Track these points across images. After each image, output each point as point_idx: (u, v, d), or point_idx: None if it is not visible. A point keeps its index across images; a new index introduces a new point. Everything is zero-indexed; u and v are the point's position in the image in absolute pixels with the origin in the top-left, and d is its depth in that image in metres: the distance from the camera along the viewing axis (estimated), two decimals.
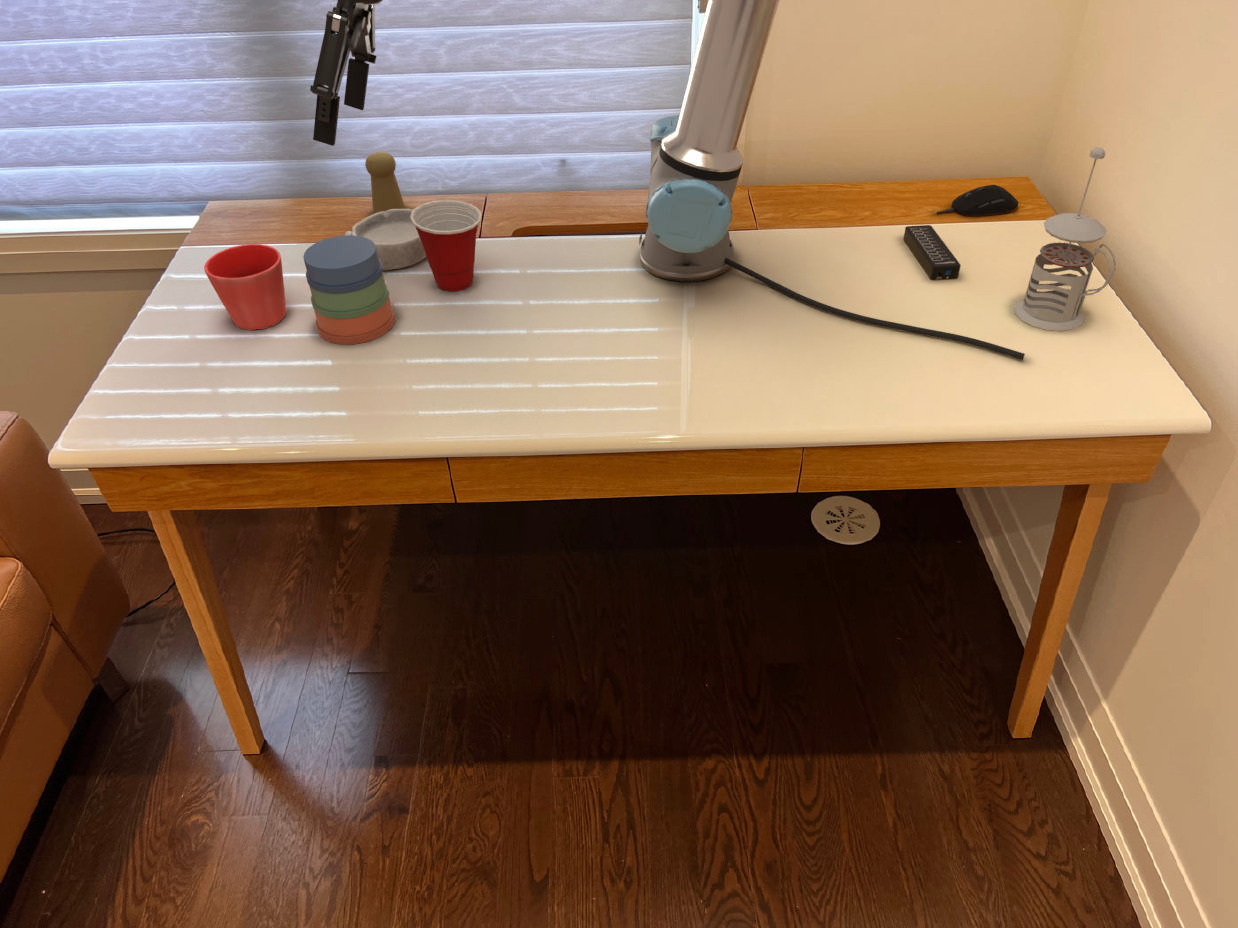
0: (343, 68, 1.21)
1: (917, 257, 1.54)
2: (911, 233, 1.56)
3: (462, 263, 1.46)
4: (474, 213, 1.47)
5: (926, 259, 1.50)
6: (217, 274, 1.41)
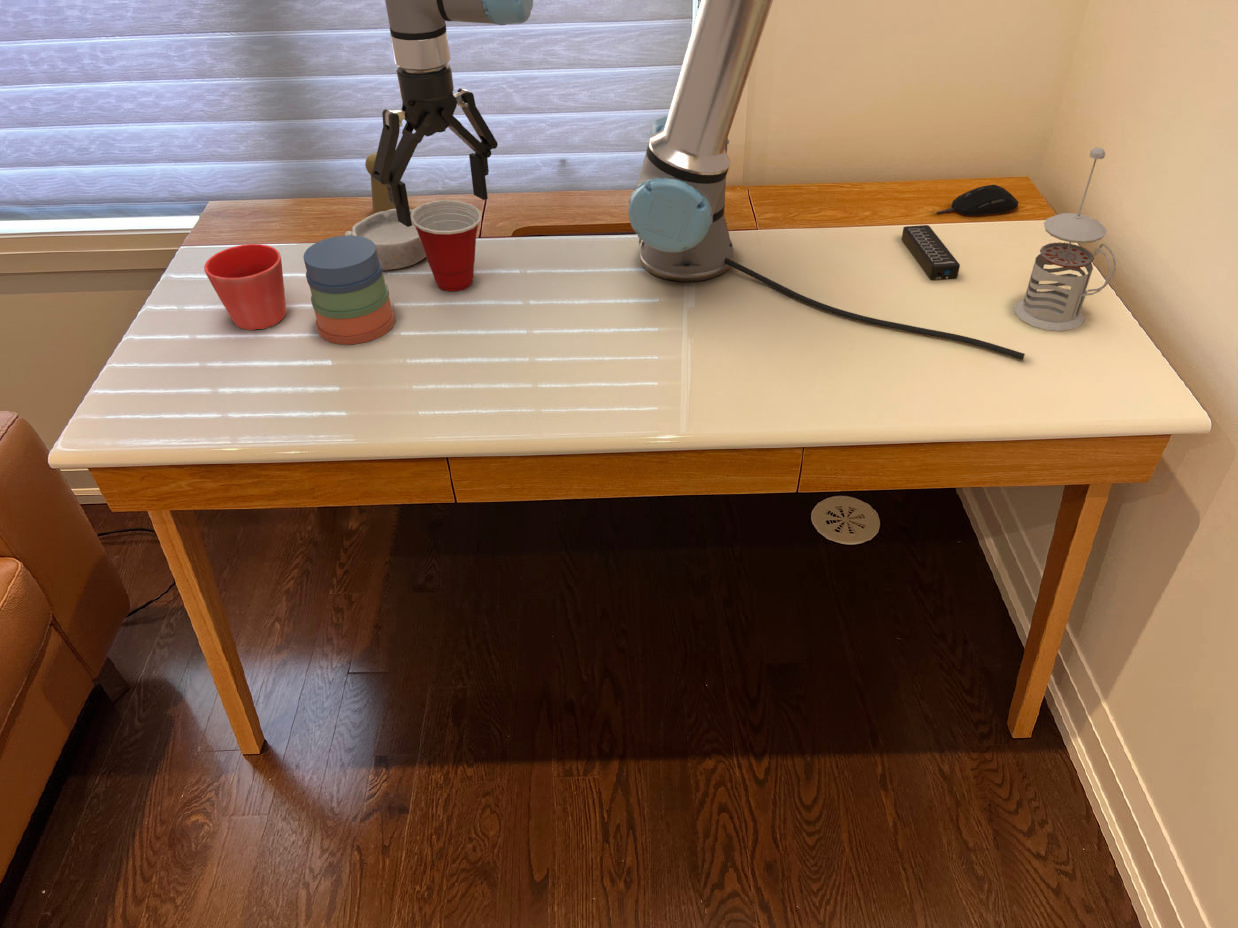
0: (405, 158, 1.34)
1: (916, 257, 1.54)
2: (909, 233, 1.56)
3: (462, 263, 1.46)
4: (474, 213, 1.47)
5: (925, 259, 1.50)
6: (217, 274, 1.41)
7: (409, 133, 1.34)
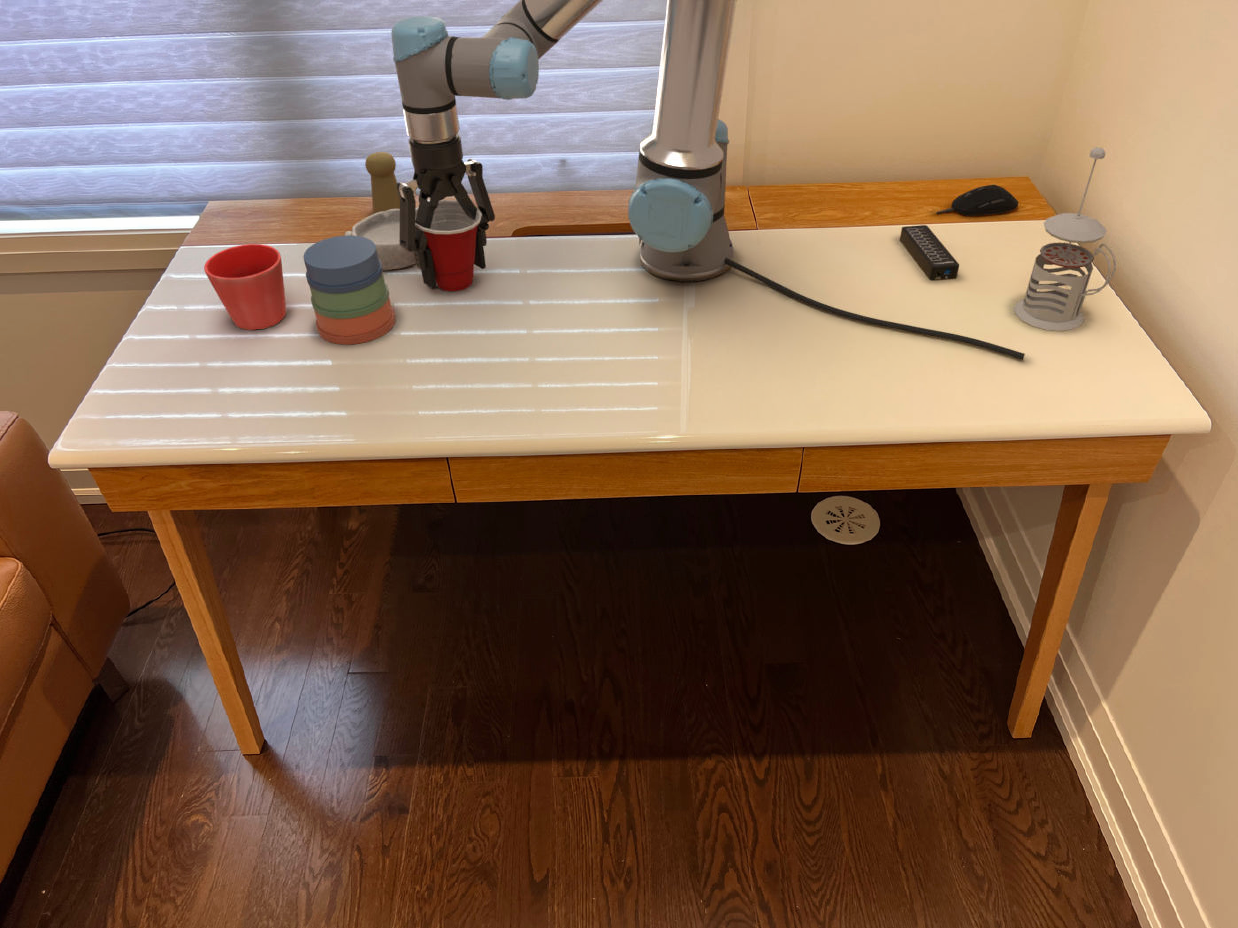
0: (426, 225, 1.42)
1: (915, 257, 1.54)
2: (908, 233, 1.56)
3: (462, 263, 1.47)
4: None
5: (924, 259, 1.50)
6: (217, 274, 1.41)
7: (425, 201, 1.41)
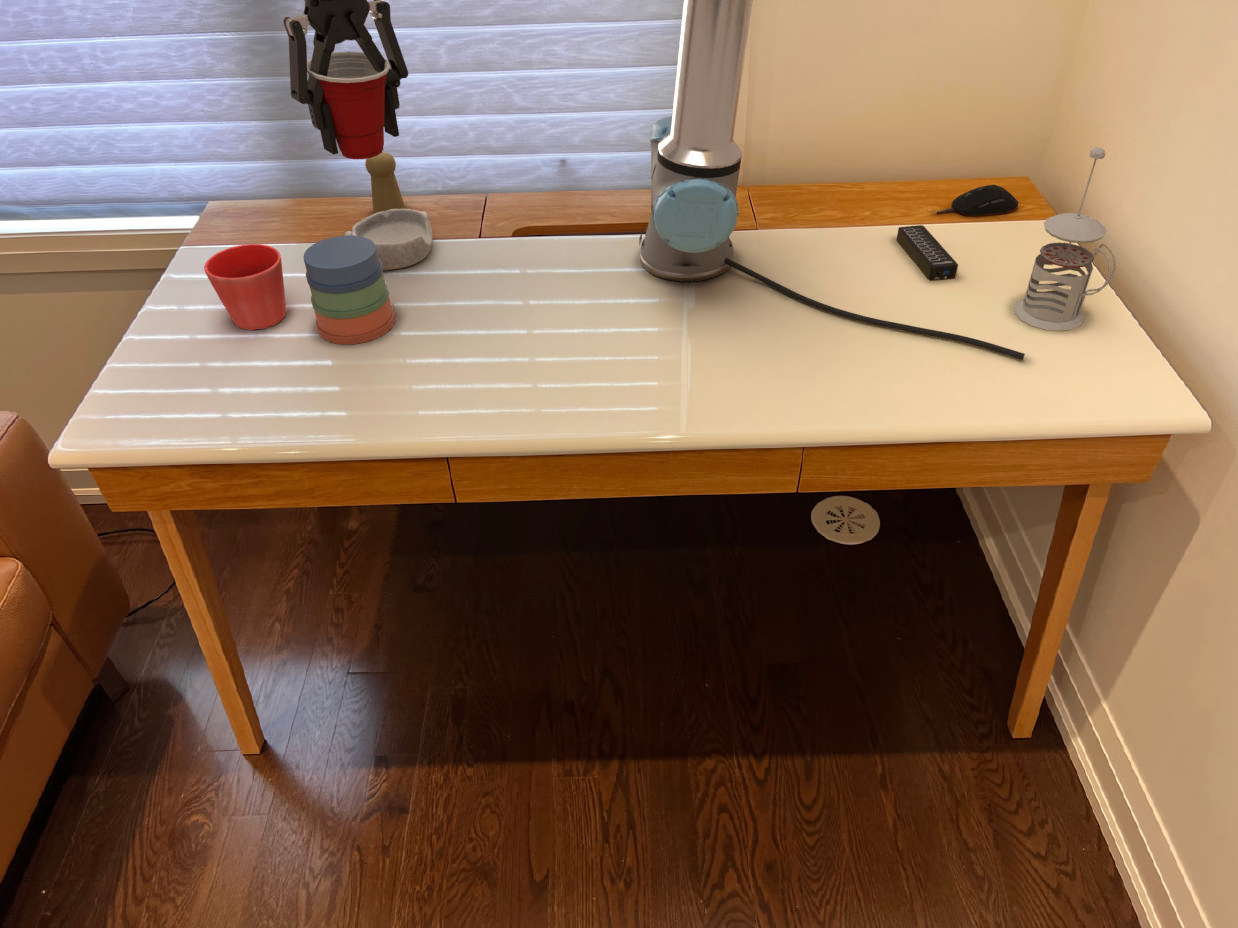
0: (321, 73, 1.21)
1: (913, 258, 1.54)
2: (905, 234, 1.56)
3: (367, 123, 1.26)
4: None
5: (923, 259, 1.50)
6: (217, 274, 1.41)
7: (319, 43, 1.20)
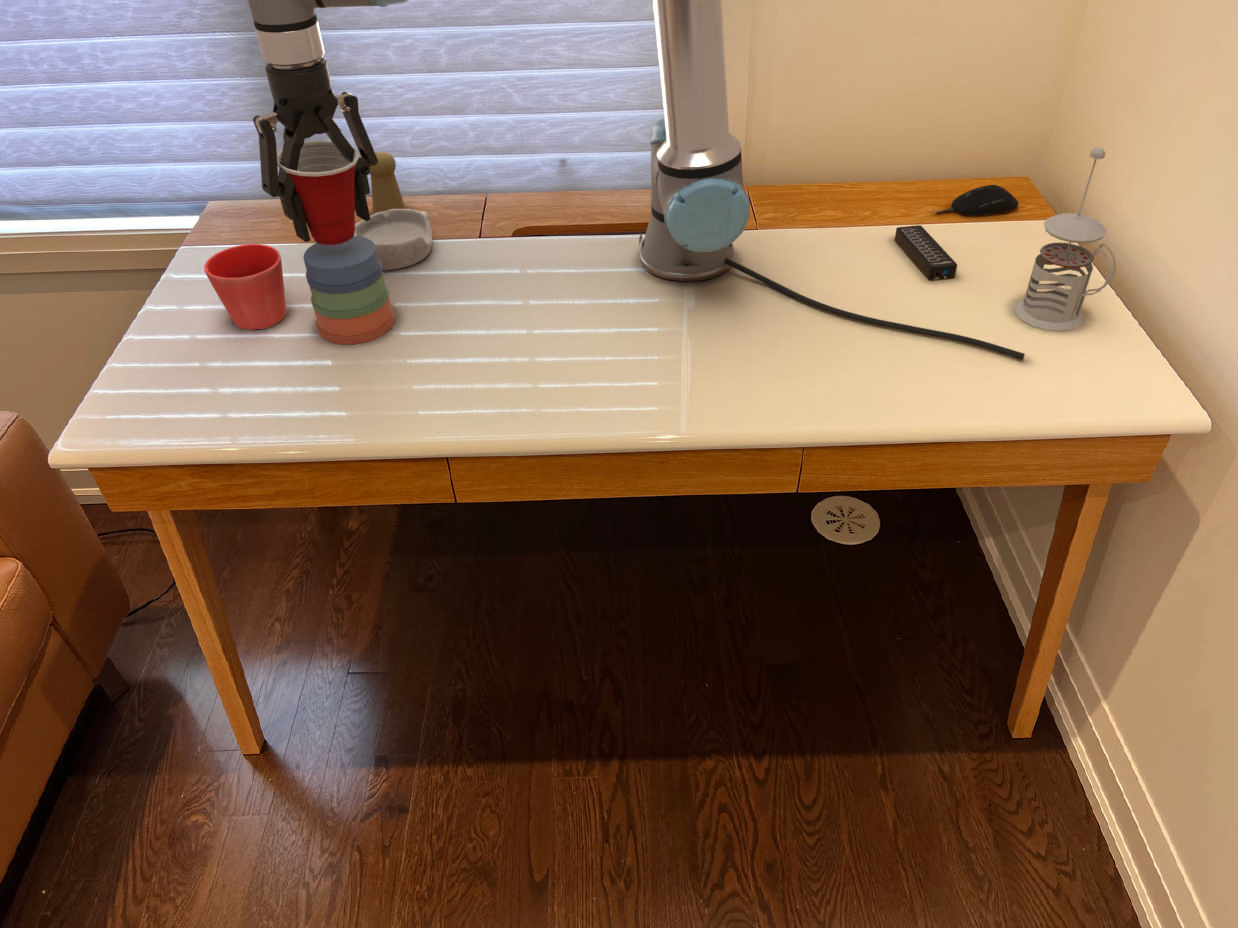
0: (291, 167, 1.24)
1: (911, 258, 1.54)
2: (903, 234, 1.56)
3: (337, 212, 1.28)
4: None
5: (922, 259, 1.50)
6: (217, 274, 1.41)
7: (289, 138, 1.23)
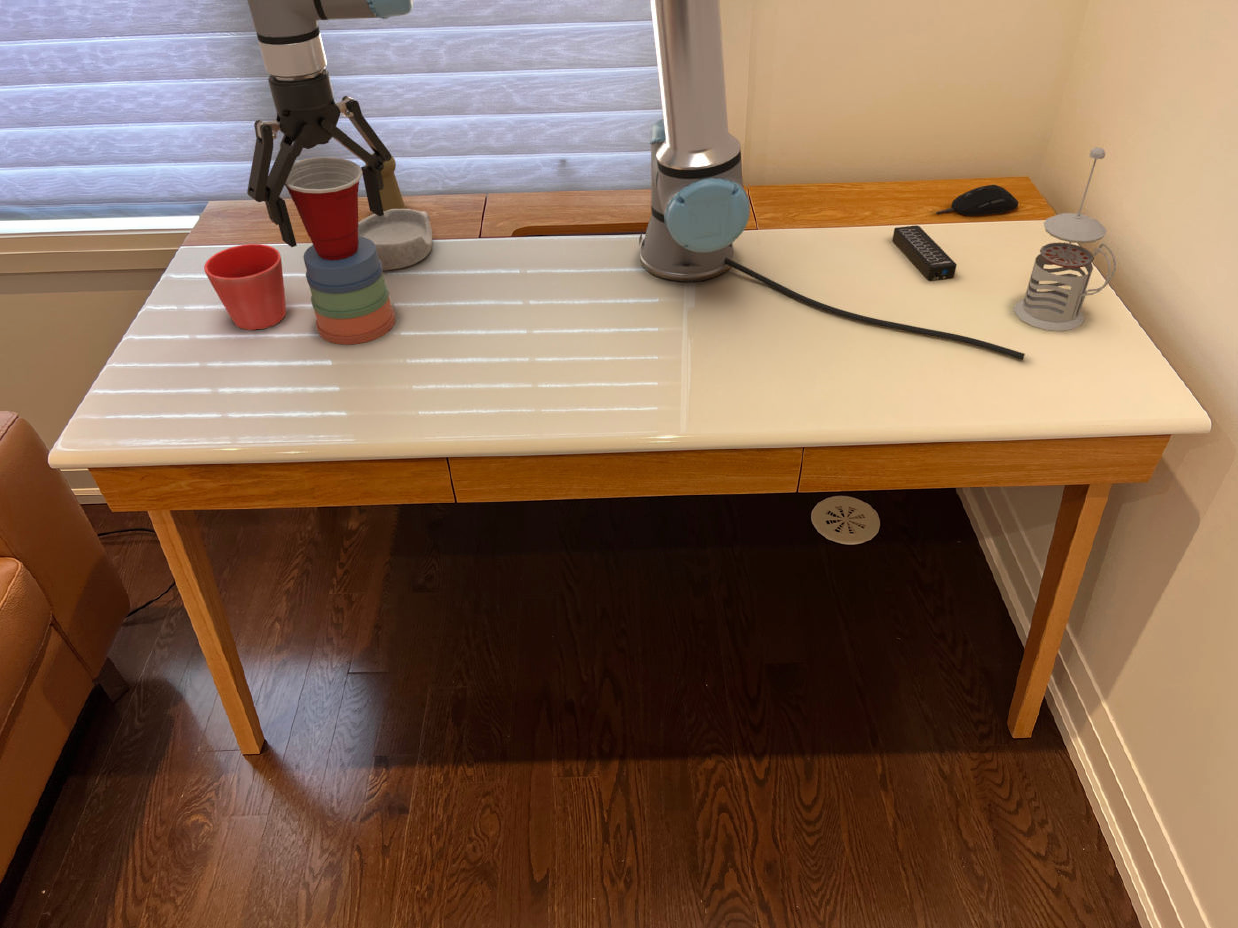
0: (283, 173, 1.23)
1: (910, 258, 1.54)
2: (901, 234, 1.56)
3: (341, 227, 1.30)
4: (355, 171, 1.31)
5: (921, 260, 1.50)
6: (217, 274, 1.41)
7: (287, 146, 1.23)
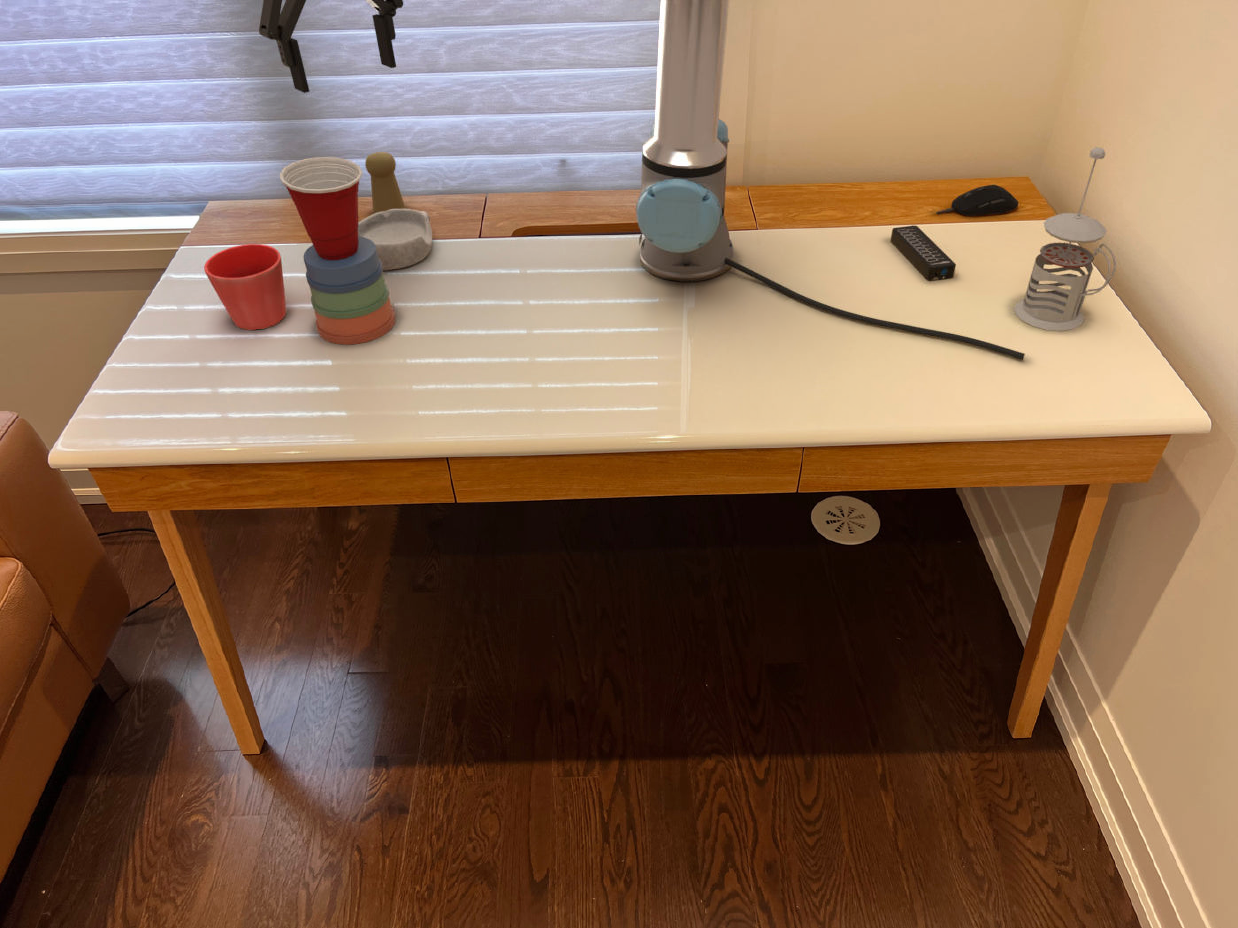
0: (295, 10, 1.21)
1: (909, 258, 1.54)
2: (900, 234, 1.56)
3: (341, 227, 1.30)
4: (355, 171, 1.31)
5: (920, 260, 1.50)
6: (217, 274, 1.41)
7: None
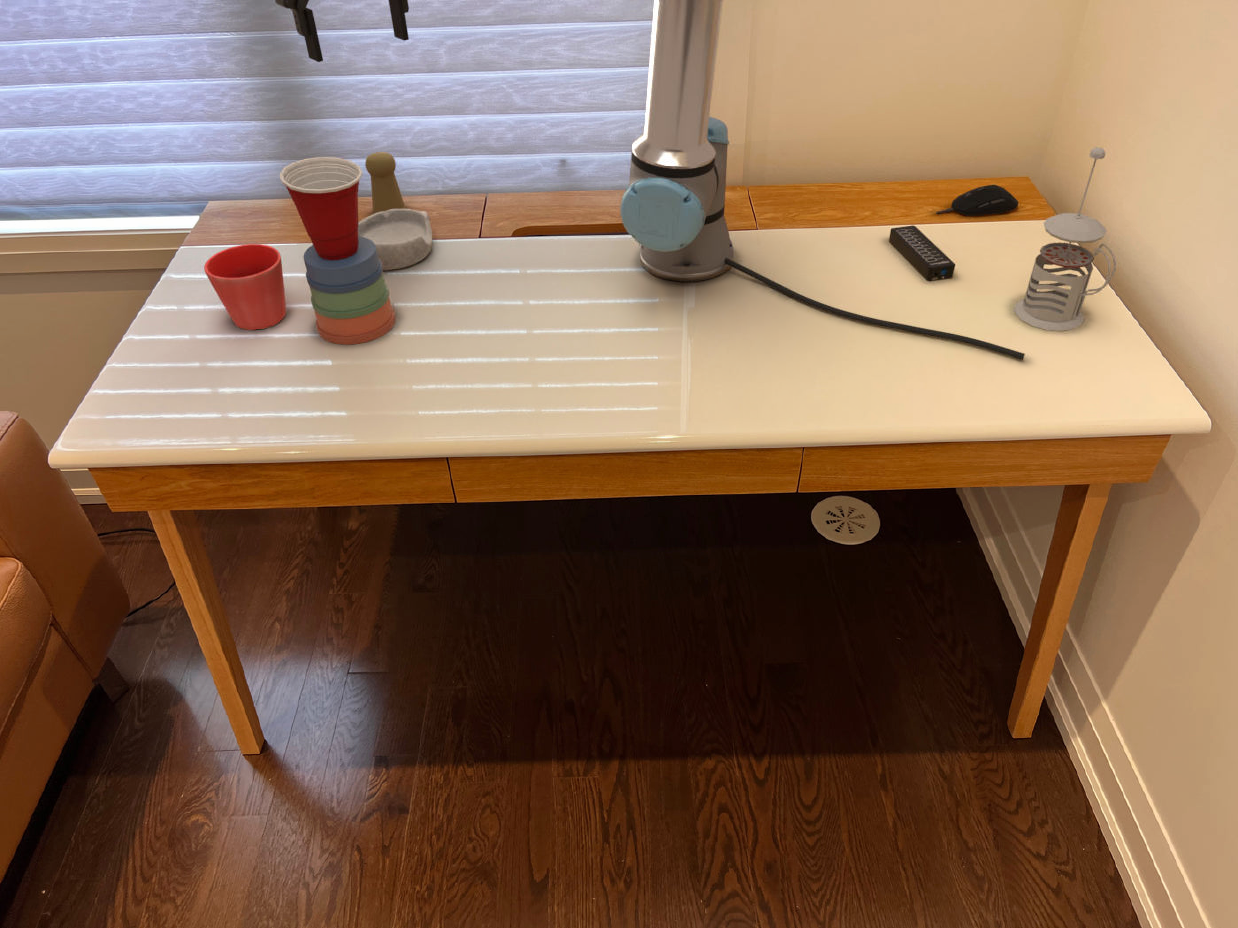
0: None
1: (908, 259, 1.53)
2: (898, 235, 1.56)
3: (341, 227, 1.30)
4: (355, 171, 1.31)
5: (920, 260, 1.50)
6: (217, 274, 1.41)
7: None
